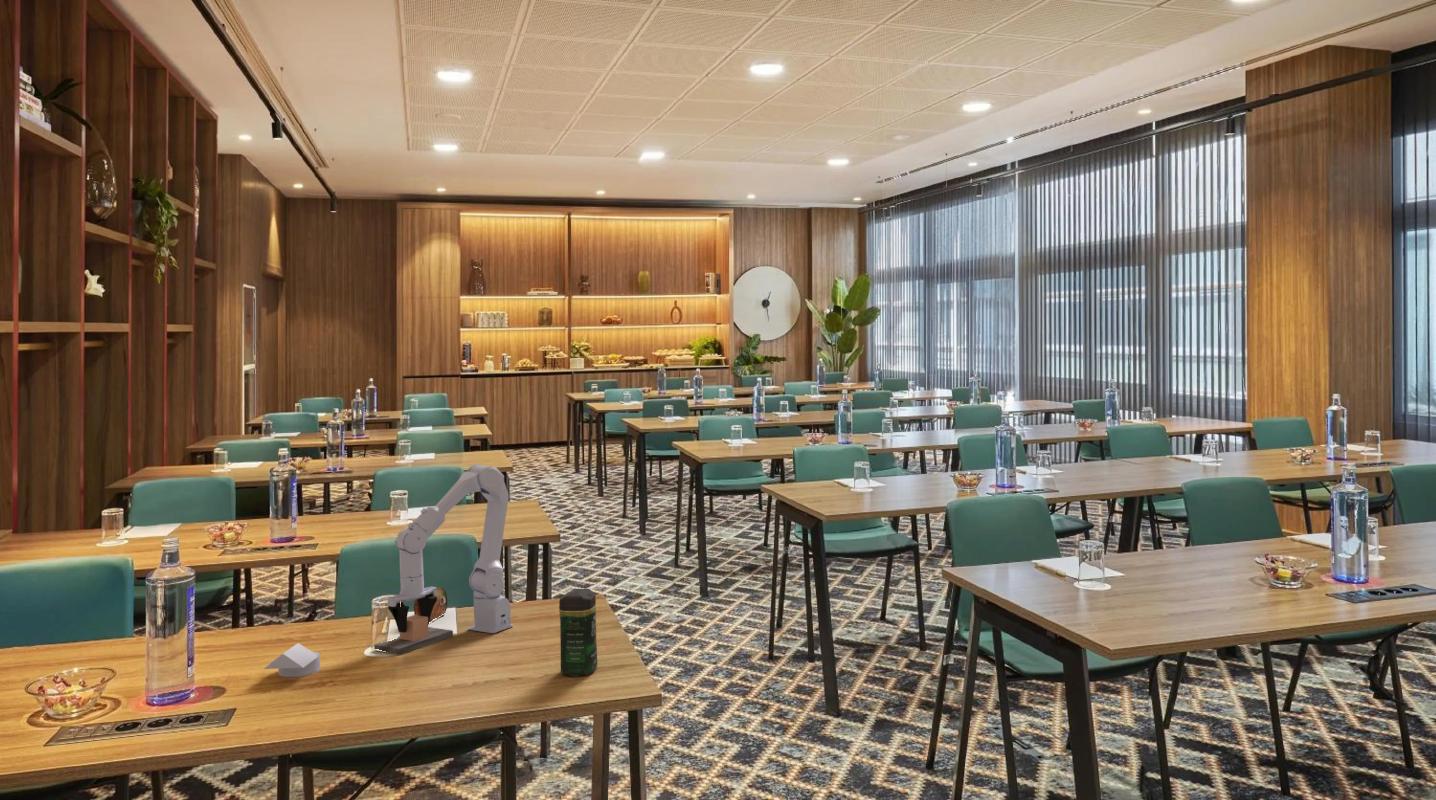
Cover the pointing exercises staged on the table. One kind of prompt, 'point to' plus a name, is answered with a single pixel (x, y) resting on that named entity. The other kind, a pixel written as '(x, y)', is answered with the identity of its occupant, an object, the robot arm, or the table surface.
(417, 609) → the tin
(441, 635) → the charcoal board
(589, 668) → the coffee jar
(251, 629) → the table surface
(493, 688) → the table surface
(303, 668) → the wedge on round base
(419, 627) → the cube
